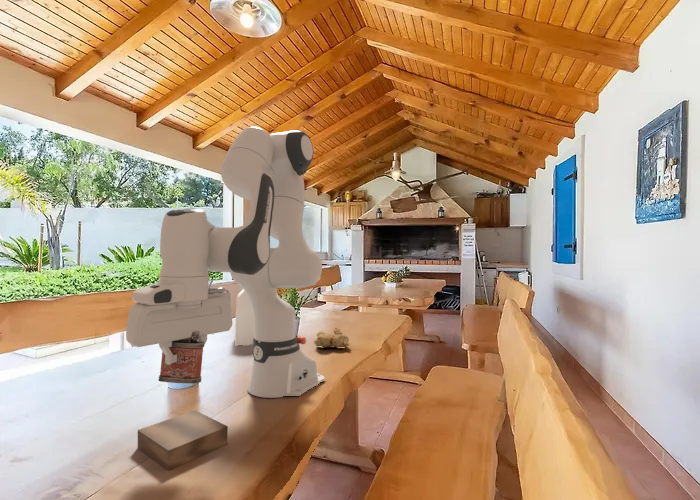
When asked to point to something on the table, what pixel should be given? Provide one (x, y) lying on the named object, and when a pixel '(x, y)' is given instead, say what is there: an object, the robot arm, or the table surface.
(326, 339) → the ginger root
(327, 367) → the table surface
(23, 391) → the table surface
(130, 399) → the table surface
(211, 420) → the walnut base
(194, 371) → the lighter
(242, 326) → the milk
